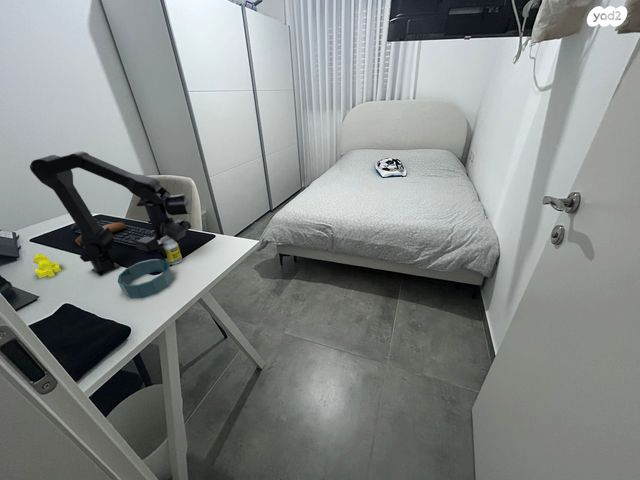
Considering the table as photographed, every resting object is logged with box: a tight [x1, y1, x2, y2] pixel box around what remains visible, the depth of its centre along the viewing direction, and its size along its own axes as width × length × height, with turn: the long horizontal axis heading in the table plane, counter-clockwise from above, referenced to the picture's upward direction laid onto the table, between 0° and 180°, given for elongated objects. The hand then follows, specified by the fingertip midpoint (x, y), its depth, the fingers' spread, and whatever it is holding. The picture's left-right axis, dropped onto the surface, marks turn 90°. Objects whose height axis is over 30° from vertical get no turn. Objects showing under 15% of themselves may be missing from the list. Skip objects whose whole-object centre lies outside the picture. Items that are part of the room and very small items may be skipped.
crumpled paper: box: [33, 252, 62, 279], centre depth 91 cm, size 6×8×8 cm
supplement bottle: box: [161, 236, 183, 266], centre depth 95 cm, size 5×5×10 cm
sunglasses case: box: [74, 221, 128, 247], centre depth 115 cm, size 18×7×7 cm
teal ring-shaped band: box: [117, 258, 175, 299], centre depth 85 cm, size 14×14×5 cm
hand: (172, 254), depth 96 cm, fingers closed on supplement bottle, 5 cm apart
